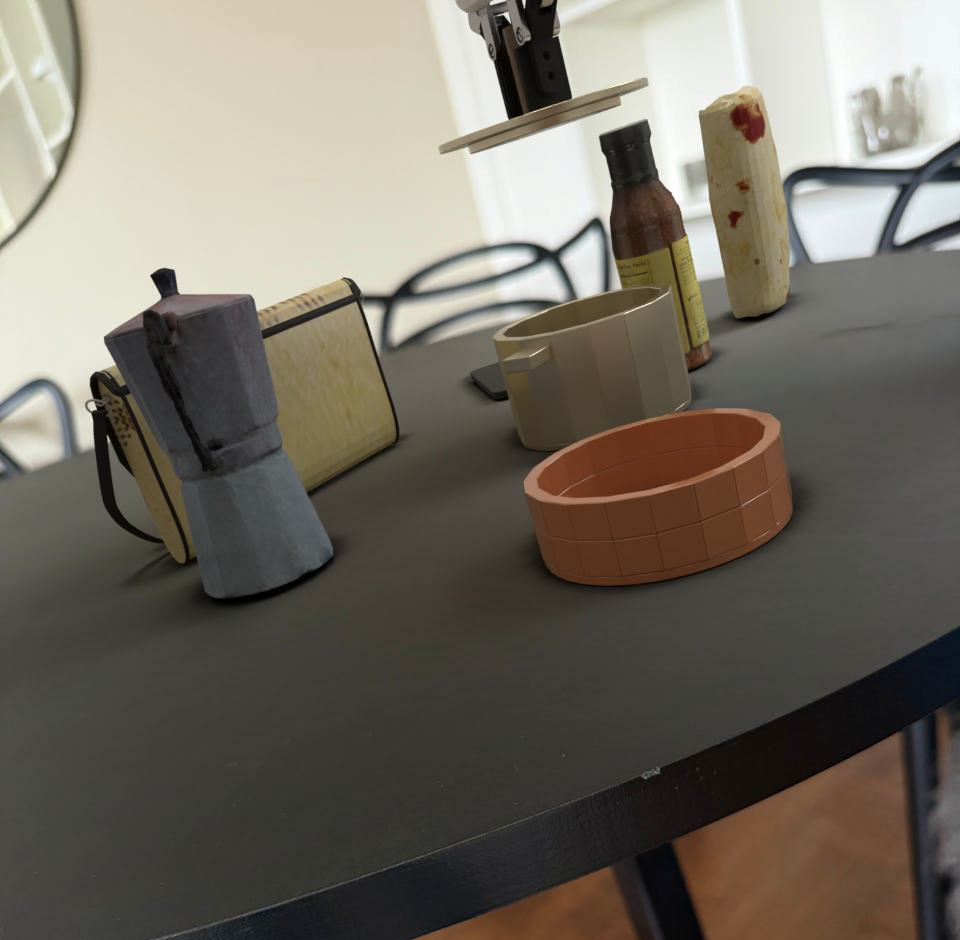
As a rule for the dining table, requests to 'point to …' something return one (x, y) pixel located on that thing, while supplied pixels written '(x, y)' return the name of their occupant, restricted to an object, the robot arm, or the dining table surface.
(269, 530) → the moka pot
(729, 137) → the food model
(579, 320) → the pot
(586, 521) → the pan
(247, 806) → the dining table surface
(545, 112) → the lid
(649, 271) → the sauce bottle
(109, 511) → the clutch purse
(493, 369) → the phone
